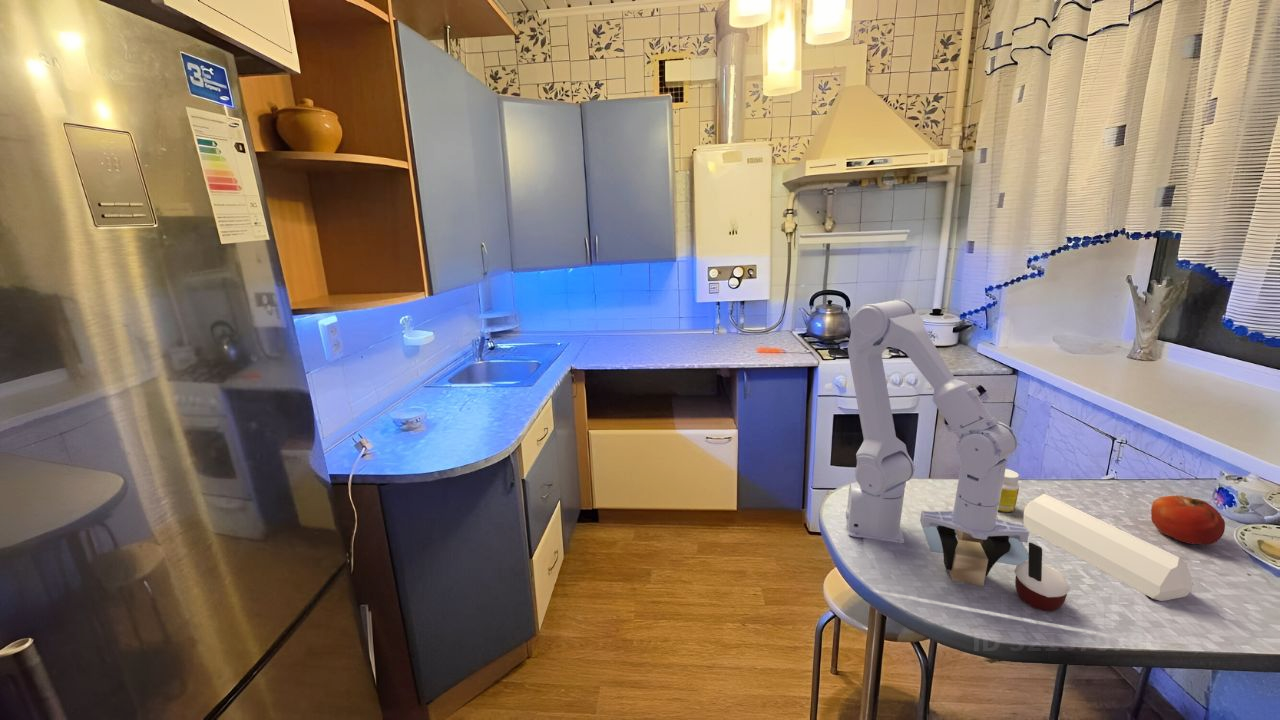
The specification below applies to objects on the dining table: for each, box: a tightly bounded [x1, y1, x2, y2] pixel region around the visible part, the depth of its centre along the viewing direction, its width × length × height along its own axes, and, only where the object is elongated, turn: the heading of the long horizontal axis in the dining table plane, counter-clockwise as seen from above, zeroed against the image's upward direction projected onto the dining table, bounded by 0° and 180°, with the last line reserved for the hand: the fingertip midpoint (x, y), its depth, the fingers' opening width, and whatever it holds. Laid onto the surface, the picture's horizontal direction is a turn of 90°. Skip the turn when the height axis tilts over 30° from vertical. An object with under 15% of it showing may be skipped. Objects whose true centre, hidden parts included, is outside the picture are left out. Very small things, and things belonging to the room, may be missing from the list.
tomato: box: [1150, 494, 1226, 546], centre depth 90 cm, size 9×9×8 cm
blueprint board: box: [919, 520, 1029, 566], centre depth 90 cm, size 16×10×1 cm, turn 71°
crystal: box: [1023, 493, 1194, 602], centre depth 86 cm, size 7×7×24 cm
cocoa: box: [1014, 542, 1071, 612], centre depth 75 cm, size 10×6×12 cm, turn 97°
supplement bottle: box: [997, 468, 1020, 516], centre depth 99 cm, size 5×5×8 cm
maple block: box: [948, 539, 988, 587], centre depth 82 cm, size 4×4×6 cm
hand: (964, 569), depth 82 cm, fingers open, 4 cm apart
